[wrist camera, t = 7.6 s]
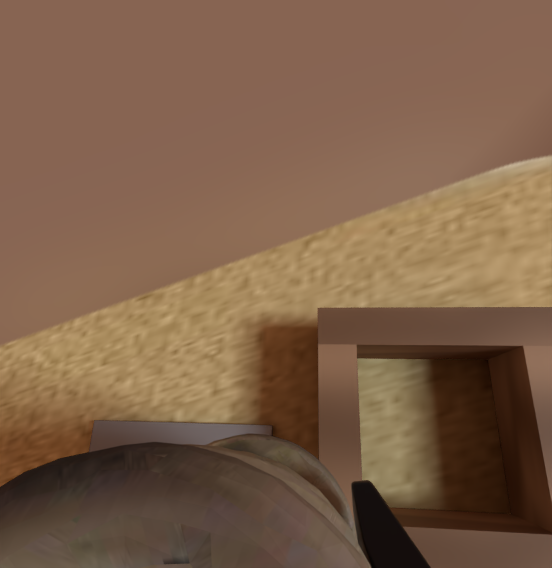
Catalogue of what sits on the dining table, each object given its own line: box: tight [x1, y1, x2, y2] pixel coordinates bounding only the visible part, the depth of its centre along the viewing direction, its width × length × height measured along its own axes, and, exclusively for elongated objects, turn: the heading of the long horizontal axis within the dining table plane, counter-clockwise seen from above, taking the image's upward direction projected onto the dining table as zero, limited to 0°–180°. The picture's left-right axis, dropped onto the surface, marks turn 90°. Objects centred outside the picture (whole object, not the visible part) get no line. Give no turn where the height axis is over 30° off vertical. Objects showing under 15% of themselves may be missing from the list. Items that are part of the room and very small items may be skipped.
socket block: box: [318, 307, 552, 568], centre depth 19 cm, size 11×11×4 cm
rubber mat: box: [89, 420, 273, 452], centre depth 20 cm, size 10×10×1 cm
